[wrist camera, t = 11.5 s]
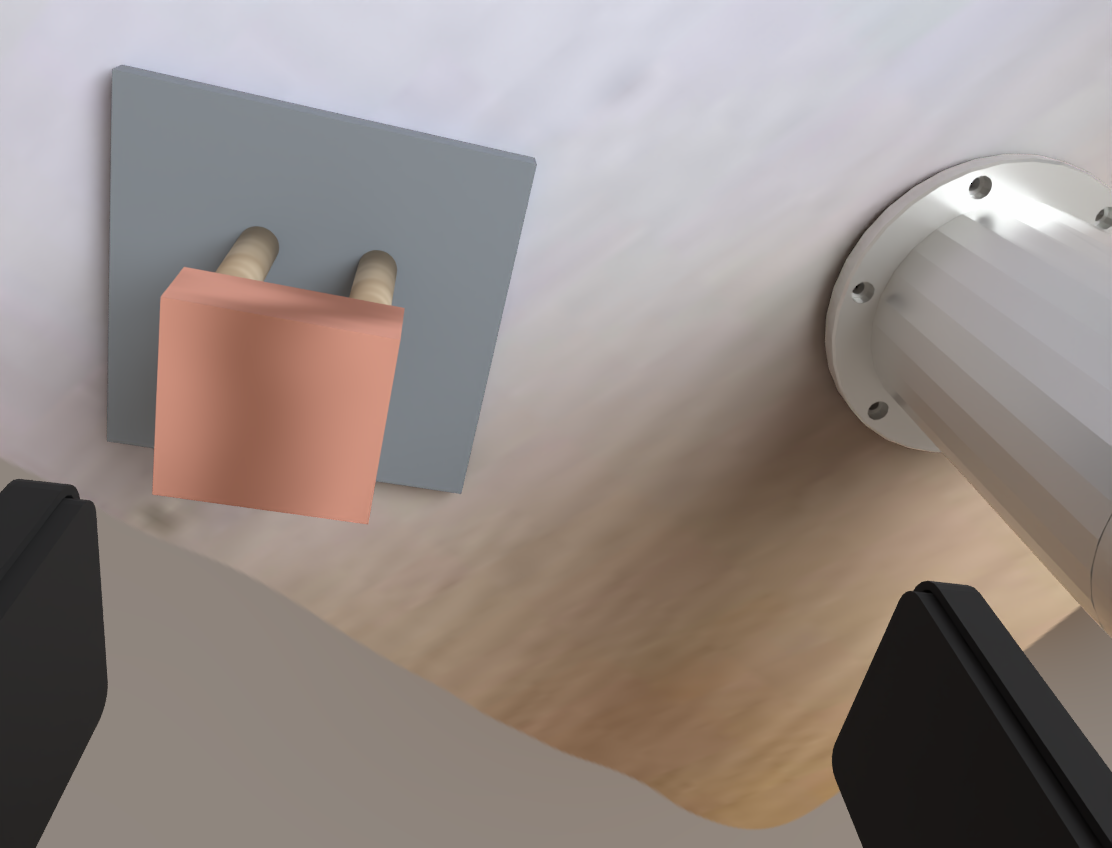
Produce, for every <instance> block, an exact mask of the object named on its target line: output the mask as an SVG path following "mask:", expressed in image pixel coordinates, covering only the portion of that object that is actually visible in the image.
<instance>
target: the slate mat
mask: <svg viewBox="0 0 1112 848" xmlns="http://www.w3.org/2000/svg"><path fill="white" fill-rule="evenodd" d="M536 165H537V164H536V161H535V158H532V157H528V156H524V155H519V154H515V153H510V152H506V151H502V150H497V149H493V148H488V147H484V146H479V145H475V144H471V143H466V142H462V141H457V140H453V139H448V138H444V137H440V136H435V135H431V134H426V133H422V132H417V131H413V130H409V129H404V128H400V127H395V126H391V125H386V124H382V123H378V122H373V121H369V120H364V119H360V118H356V117H351V116H347V115H342V114H338V113H333V112H329V111H325V110H320V109H316V108H311V107H307V106H302V105H298V104H294V103H289V102H285V101H280V100H276V99H271V98H267V97H263V96H258V95H254V94H249V93H245V92H240V91H236V90H232V89H227V88H223V87H218V86H214V85H210V84H205V83H201V82H196V81H192V80H187V79H183V78H179V77H174V76H170V75H165V74H161V73H156V72H152V71H148V70H143V69H139V68H134V67H130V66H125V65H120V66H118V67H116V68H113V69H112V109H111V181H110V253H109V325H108V397H107V441H109V442H116V443H122V444H129V445H136V446H142V447H149V448H154V444H155V419H156V395H157V371H158V347H159V323H160V299H161V296H162V294H163V293H164V292H165V291H166V289H167V288H168V287H169V285H170V284H171V283H172V282H173V280H174V279H175V278H176V276H177V275H178V274H179V273H180V271H181V270H182V269H183V267H188V268H193V269H198V270H204V271H209V272H216V270H217V269H218V267H219V266H220V264H221V263H222V261H223V260H224V258H225V257H226V255H227V254H228V253H229V251H230V250H231V248H232V247H233V245H234V244H235V242H236V241H237V239H238V238H239V236H240V235H241V233H242V232H243V231H244V230H246V229H247V228H249V227H253V226H259V227H264V228H266V229H268V230H270V231H271V232H272V233H273V234H274V235H275V236H276V238H277V240H278V243H279V253H278V255H277V257H276V259H275V261H274V263H273V265H272V266H271V268H270V270H269V272H268V274H267V276H266V278H265V280H264V281H263V282H268V283H273V284H279V285H284V286H289V287H295V288H300V289H305V290H311V291H316V292H322V293H327V294H332V295H338V296H343V297H348V298H349V296H350V292H351V289H352V285H353V281H354V278H355V274H356V271H357V267H358V264H359V261H360V259H361V257H362V256H363V255H364V254H365V253H367V252H369V251H372V250H381V251H384V252H386V253H388V254H389V255H391V256H392V257H393V259H394V260H395V262H396V265H397V275H396V281H395V287H394V293H393V299H392V305H391V306H396V307H402V308H405V309H404V317H403V324H402V332H401V339H400V345H399V351H398V357H397V362H396V368H395V374H394V379H393V385H392V391H391V396H390V402H389V408H388V414H387V419H386V425H385V431H384V436H383V442H382V448H381V453H380V459H379V465H378V471H377V476H376V481H378V482H385V483H392V484H398V485H405V486H412V487H418V488H425V489H432V490H439V491H445V492H452V493H459V494H461V493H462V488H463V484H464V480H465V475H466V471H467V467H468V462H469V458H470V454H471V449H472V445H473V440H474V436H475V432H476V427H477V423H478V419H479V414H480V410H481V405H482V401H483V397H484V392H485V388H486V384H487V379H488V375H489V371H490V366H491V362H492V357H493V353H494V349H495V344H496V340H497V336H498V331H499V327H500V322H501V318H502V314H503V309H504V305H505V301H506V296H507V292H508V288H509V283H510V279H511V274H512V270H513V266H514V261H515V257H516V253H517V248H518V244H519V239H520V235H521V231H522V226H523V222H524V218H525V213H526V209H527V205H528V200H529V196H530V191H531V187H532V183H533V178H534V174H535V170H536Z"/></svg>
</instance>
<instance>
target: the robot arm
mask: <svg viewBox="0 0 1112 848" xmlns="http://www.w3.org/2000/svg"><path fill="white" fill-rule="evenodd" d="M973 180H974V182H973V184H972V185H971V186H970V184H971V183H972V181H973ZM969 186H970V187H969ZM858 284H860V285H859V287H858V288H857V289H855V290H854V288H855V287H856V285H858ZM825 348H826V354H827V361H828V367H829V370H830V373H831V375H832V378H833V380H834V383H835V385H836V388H837V390H838V392H839V393H840V394H841V396H842V397H843V399H844V400H845V401H846V403H847V404H848V406H849V407H850V409H851V410H852V411H853V412H854V413H855V414H856V416H857V417H858V418H859V419H860V420H861V421H862V423H864V424H865V425H866V426H867V427H868V428H870V429H871V430H873V431H874V432H876V433H877V434H879V435H880V436H882V437H883V438H885V439H886V440H889V441H891V442H894V443H896V444H899V445H901V446H904V447H906V448H910V449H916V450H921V451H927V452H942V453H943V454H944V455H945V456H946V457H947V458H948V460H949V461H950V462H951V463H952V464H953V465H954V466H955V467H956V468H957V469H958V471H959V472H960V473H961V474H962V475H963V476H964V477H965V478H966V479H967V481H968V482H969V483H970V484H971V485H972V486H973V487H974V488H975V489H976V490H977V492H978V493H979V494H980V495H981V496H982V497H983V498H984V499H985V500H986V502H987V503H988V504H989V505H990V506H991V507H992V508H993V509H994V510H995V511H996V513H997V514H998V515H999V516H1000V517H1001V518H1002V519H1003V520H1004V521H1005V523H1006V524H1007V525H1008V526H1009V527H1010V528H1011V529H1012V530H1013V531H1014V532H1015V534H1016V535H1017V536H1018V537H1019V538H1020V539H1021V540H1022V541H1023V542H1024V544H1025V545H1026V546H1027V547H1028V548H1029V549H1030V550H1031V551H1032V552H1033V554H1034V555H1035V556H1036V557H1037V558H1038V559H1039V560H1040V561H1041V562H1042V563H1043V565H1044V566H1045V567H1046V568H1047V569H1048V570H1049V571H1050V572H1051V573H1052V575H1053V576H1054V577H1055V578H1056V579H1057V580H1058V581H1059V582H1060V583H1061V584H1062V586H1063V587H1064V588H1065V589H1066V590H1067V591H1068V592H1069V593H1070V594H1071V596H1072V597H1073V598H1074V599H1075V600H1076V601H1077V602H1078V603H1079V604H1080V605H1081V606H1082V607H1083V609H1084V610H1085V611H1086V612H1087V613H1088V614H1089V615H1090V616H1091V617H1092V618H1093V619H1094V621H1096V623H1097V624H1098V625H1099V626H1100V627H1101V628H1102V629H1103V630H1104V631H1105V632H1106V633H1107V634H1108V635H1109V636H1110V637H1111V638H1112V189H1111V188H1110V187H1109V186H1107V185H1106V184H1104V183H1103V182H1102V181H1100V180H1099V179H1097V178H1096V177H1095V176H1093V175H1092V174H1090V173H1089V172H1087V171H1085V170H1082V169H1080V168H1078V167H1075V166H1073V165H1071V164H1068V163H1066V162H1064V161H1060V160H1056V159H1052V158H1048V157H1044V156H1040V155H1036V154H1001V155H995V156H989V157H983V158H977V159H973V160H971V161H968V162H965V163H962V164H959V165H957V166H954V167H951V168H948V169H946V170H943V171H941V172H940V173H938V174H936V175H934V176H932V177H931V178H929V179H927V180H925V181H924V182H922V183H920V184H918V185H916V186H915V187H913V188H912V189H911V190H909V191H908V192H907V193H906V194H904V195H903V196H902V197H901V198H899V199H898V200H897V201H895V202H894V203H893V204H892V205H890V206H889V207H888V208H887V209H886V210H885V211H884V212H883V213H882V214H881V215H880V216H879V217H878V218H877V220H876V221H875V222H874V223H873V224H872V225H871V226H870V227H869V228H868V229H867V230H866V231H865V232H864V234H863V235H862V237H861V238H860V240H859V241H858V243H857V244H856V246H855V247H854V249H853V250H852V252H851V253H850V255H849V256H848V258H847V259H846V261H845V264H844V266H843V268H842V270H841V272H840V275H839V277H838V279H837V281H836V283H835V286H834V288H833V292H832V296H831V299H830V303H829V307H828V311H827V315H826V330H825ZM97 534H98V533H97V518H96V509H95V506H94V503H93V502H92V501H90V500H81V499H80V497H79V493H78V491H77V489H76V487H74V486H73V485H68V484H60V483H51V482H42V481H33V480H23V479H16V480H13V481H12V482H10V483H9V484H8V485H7V486H6V487H5V488H4V489H3V491H1V493H0V848H36V846H37V844H38V842H39V840H40V838H41V836H42V834H43V832H44V830H45V828H46V826H47V824H48V822H49V820H50V818H51V816H52V814H53V812H54V810H55V808H56V806H57V804H58V802H59V800H60V798H61V796H62V794H63V792H64V790H65V788H66V786H67V783H68V782H69V780H70V778H71V776H72V774H73V772H74V770H75V768H76V766H77V764H78V762H79V760H80V758H81V756H82V754H83V752H84V750H85V748H86V746H87V744H88V742H89V740H90V738H91V736H92V734H93V732H94V730H95V728H96V726H97V724H98V722H99V720H100V718H101V715H102V712H103V709H104V706H105V702H106V697H107V688H108V686H107V685H108V684H107V683H108V681H107V667H106V652H105V636H104V622H103V608H102V592H101V578H100V563H99V549H98V535H97ZM832 767H833V773H834V776H835V779H836V782H837V784H838V787H839V789H840V792H841V794H842V797H843V799H844V802H845V804H846V807H847V809H848V811H849V814H850V816H851V819H852V821H853V824H854V826H855V829H856V831H857V834H858V836H859V839H860V841H861V843H862V846H863V848H1112V772H1111V771H1110V769H1109V768H1108V767H1107V765H1106V764H1105V763H1104V761H1103V760H1102V758H1101V757H1100V756H1099V754H1098V753H1097V752H1096V750H1095V749H1094V748H1093V746H1092V745H1091V743H1090V742H1089V741H1088V739H1087V738H1086V737H1085V735H1084V734H1083V733H1082V731H1081V730H1080V729H1079V727H1078V726H1077V724H1076V723H1075V722H1074V720H1073V719H1072V718H1071V716H1070V715H1069V714H1068V712H1067V711H1066V709H1065V708H1064V707H1063V705H1062V704H1061V703H1060V701H1059V700H1058V699H1057V697H1056V696H1055V695H1054V693H1053V692H1052V690H1051V689H1050V688H1049V687H1048V685H1047V684H1046V682H1045V681H1044V680H1043V678H1042V677H1041V676H1040V674H1039V673H1038V671H1037V670H1036V669H1035V667H1034V666H1033V665H1032V663H1031V662H1030V661H1029V659H1028V658H1027V657H1026V655H1025V654H1024V652H1023V651H1022V650H1021V648H1020V647H1019V646H1018V644H1017V643H1016V642H1015V640H1014V639H1013V637H1012V636H1011V635H1010V633H1009V632H1008V631H1007V629H1006V628H1005V627H1004V625H1003V624H1002V623H1001V621H1000V620H999V618H998V617H997V616H996V614H995V613H994V612H993V610H992V609H991V608H990V606H989V605H988V604H987V602H986V601H985V599H984V598H983V597H982V595H981V594H980V593H979V592H978V591H977V590H976V589H975V588H974V587H971V586H968V585H960V584H951V583H943V582H934V581H924V582H921V583H920V584H919V585H917V586H916V587H915V589H914V591H908V592H906V593H905V594H903V595H902V597H901V598H900V600H899V602H898V604H897V607H896V609H895V611H894V613H893V616H892V618H891V620H890V622H889V624H888V627H887V629H886V631H885V633H884V636H883V638H882V640H881V642H880V644H879V647H878V649H877V651H876V653H875V656H874V658H873V660H872V662H871V665H870V667H869V669H868V671H867V673H866V676H865V678H864V680H863V682H862V685H861V687H860V689H859V691H858V693H857V696H856V698H855V700H854V702H853V705H852V707H851V709H850V711H849V713H848V716H847V718H846V720H845V722H844V725H843V727H842V729H841V731H840V733H839V736H838V738H837V740H836V742H835V745H834V748H833V754H832Z"/></svg>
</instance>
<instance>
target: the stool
mask: <svg viewBox="0 0 1112 848" xmlns="http://www.w3.org/2000/svg"><path fill="white" fill-rule="evenodd" d="M278 253H279V243H278V240H277V238H276V236H275V235H274V234H273V233H272V232H271V231H270V230H268V229H266V228H264V227H259V226H253V227H249V228H247V229H246V230H244V231H243V232H242V233H241V235H240V236H239V238H238V239H237V241H236V242H235V244H234V245H233V247H232V248H231V250H230V251H229V253H228V254H227V255H226V257H225V258H224V260H223V261H222V263H221V264H220V266H219V267H218V269H217V270H216V272H209V271H204V270H198V269H193V268H188V267H183V269H182V270H181V271H180V273H179V274H178V275H177V276H176V278H175V279H174V280H173V282H172V283H171V284H170V285H169V287H168V288H167V289H166V291H165V292H164V293H163V294H162V296H161V299H160V323H159V347H158V371H157V395H156V419H155V444H154V468H153V492H152V494H153V495H160V496H168V497H175V498H182V499H189V500H196V501H204V502H211V503H218V504H225V505H232V506H240V507H247V508H254V509H261V510H268V511H276V512H283V513H290V514H297V515H304V516H312V517H319V518H326V519H333V520H340V521H348V522H355V523H362V524H368V522H369V516H370V510H371V505H372V499H373V493H374V488H375V482H376V476H377V471H378V465H379V459H380V453H381V448H382V442H383V436H384V431H385V425H386V419H387V414H388V408H389V402H390V396H391V391H392V385H393V379H394V374H395V368H396V362H397V357H398V351H399V345H400V339H401V332H402V324H403V317H404V309H405V308H402V307H396V306H391V305H392V299H393V293H394V287H395V281H396V275H397V265H396V262H395V260H394V259H393V257H392V256H391V255H389V254H388V253H386V252H384V251H381V250H372V251H369V252H367V253H365V254H364V255H363V256H362V257H361V259H360V261H359V264H358V267H357V271H356V274H355V278H354V281H353V285H352V289H351V292H350V296H349V298H348V297H343V296H338V295H332V294H327V293H322V292H316V291H311V290H305V289H300V288H295V287H289V286H284V285H279V284H273V283H268V282H263V281H264V280H265V278H266V276H267V274H268V272H269V270H270V268H271V266H272V265H273V263H274V261H275V259H276V257H277V255H278Z"/></svg>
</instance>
